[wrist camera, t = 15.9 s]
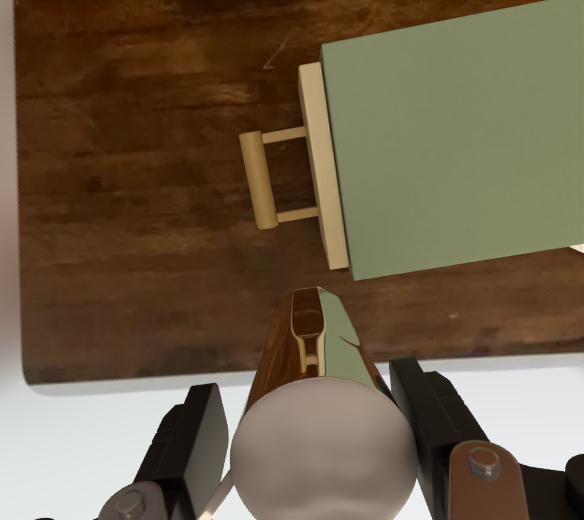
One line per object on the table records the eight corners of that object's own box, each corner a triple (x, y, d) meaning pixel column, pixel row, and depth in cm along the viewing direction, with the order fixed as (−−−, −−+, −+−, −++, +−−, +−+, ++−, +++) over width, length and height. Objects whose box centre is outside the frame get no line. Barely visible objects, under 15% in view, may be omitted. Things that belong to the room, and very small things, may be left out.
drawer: (269, 248, 31) (261, 281, 24) (240, 97, 28) (220, 80, 21) (494, 211, 30) (559, 232, 23) (489, 50, 27) (563, 14, 20)
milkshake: (230, 281, 17) (148, 466, 7) (356, 264, 16) (445, 431, 7) (249, 373, 18) (200, 636, 8) (366, 359, 18) (452, 612, 8)
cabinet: (337, 242, 32) (353, 281, 23) (313, 76, 29) (321, 43, 19) (519, 211, 31) (612, 239, 22) (517, 37, 28) (626, -16, 19)
